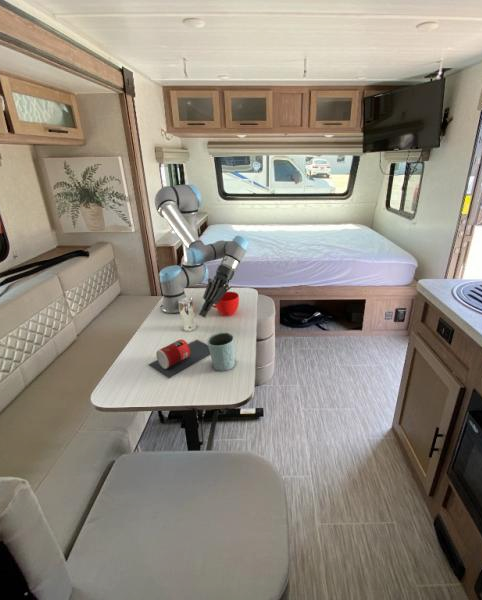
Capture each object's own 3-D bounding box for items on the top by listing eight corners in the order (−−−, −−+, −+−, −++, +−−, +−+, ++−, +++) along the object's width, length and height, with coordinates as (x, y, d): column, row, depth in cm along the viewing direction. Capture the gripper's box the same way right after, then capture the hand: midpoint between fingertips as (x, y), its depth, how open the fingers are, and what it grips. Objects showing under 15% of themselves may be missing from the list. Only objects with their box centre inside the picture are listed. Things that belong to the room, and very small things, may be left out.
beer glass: (189, 323, 163) (185, 296, 157) (199, 326, 160) (195, 298, 154) (179, 329, 158) (174, 301, 152) (190, 332, 155) (185, 304, 149)
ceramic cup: (212, 308, 180) (210, 291, 176) (242, 308, 178) (240, 291, 174) (205, 318, 168) (203, 301, 164) (237, 318, 166) (235, 301, 162)
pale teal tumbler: (241, 361, 130) (238, 335, 126) (225, 375, 122) (222, 348, 118) (221, 355, 135) (218, 330, 130) (205, 368, 127) (201, 341, 123)
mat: (196, 340, 147) (196, 339, 147) (217, 350, 139) (217, 349, 139) (149, 365, 131) (149, 364, 131) (168, 377, 122) (168, 377, 122)
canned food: (186, 338, 130) (162, 350, 123) (193, 356, 132) (170, 369, 124) (176, 339, 136) (153, 350, 128) (183, 356, 137) (161, 368, 129)
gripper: (212, 261, 143) (186, 308, 138) (232, 266, 135) (205, 316, 131) (222, 270, 149) (198, 315, 144) (242, 275, 141) (217, 323, 136)
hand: (201, 316), depth 137 cm, fingers closed
